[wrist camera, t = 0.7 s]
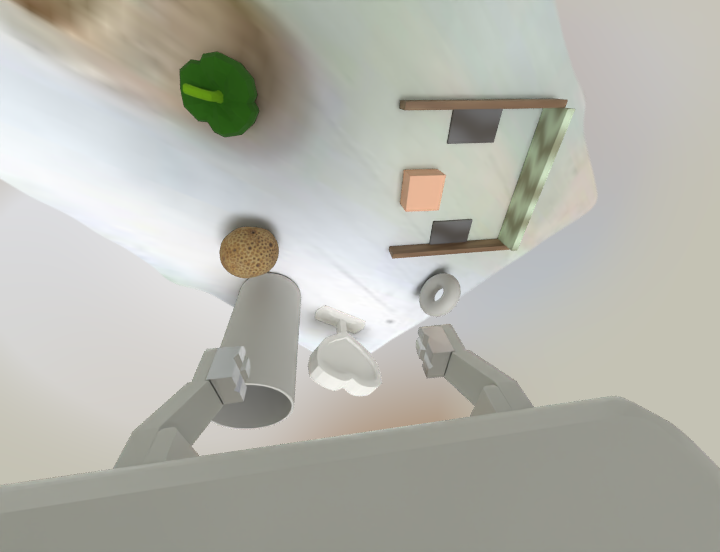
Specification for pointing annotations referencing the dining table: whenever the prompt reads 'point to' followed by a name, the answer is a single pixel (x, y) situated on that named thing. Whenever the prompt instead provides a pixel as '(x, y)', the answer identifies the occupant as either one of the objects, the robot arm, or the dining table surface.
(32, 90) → the dining table surface
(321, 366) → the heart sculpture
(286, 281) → the cylinder vase
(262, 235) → the natural sponge
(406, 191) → the terracotta block
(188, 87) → the bell pepper
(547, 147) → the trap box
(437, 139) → the dining table surface
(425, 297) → the donut
